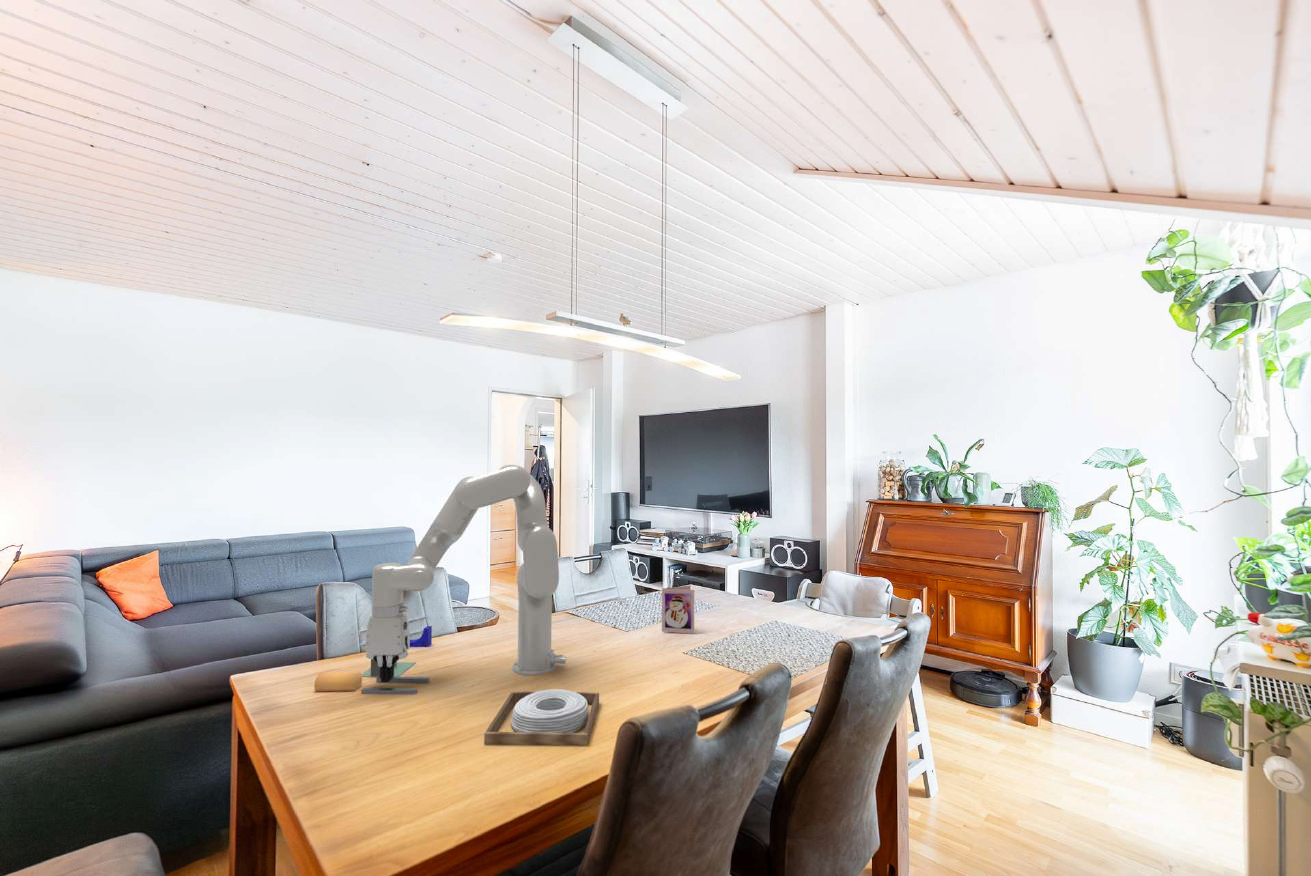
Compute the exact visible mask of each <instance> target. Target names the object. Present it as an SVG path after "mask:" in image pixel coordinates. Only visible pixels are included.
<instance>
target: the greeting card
mask: <svg viewBox="0 0 1311 876" xmlns="http://www.w3.org/2000/svg"><path fill="white" fill-rule="evenodd" d="M661 632H663V633H664V632H665V633H679V634H681V633H682V634H684V633H685V634H695V589H691V585H683V586H682V585H681V586H673V587H665V588H661Z"/></svg>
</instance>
